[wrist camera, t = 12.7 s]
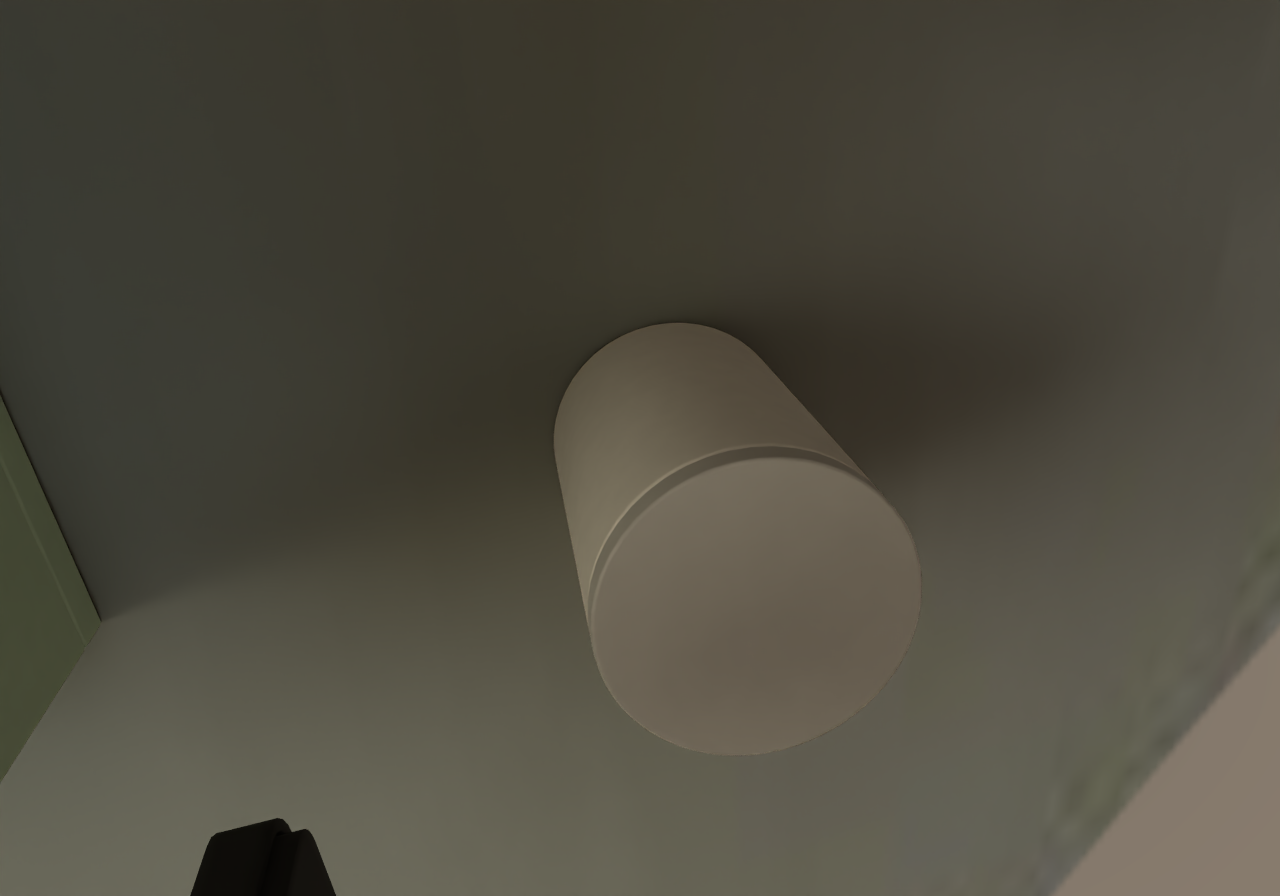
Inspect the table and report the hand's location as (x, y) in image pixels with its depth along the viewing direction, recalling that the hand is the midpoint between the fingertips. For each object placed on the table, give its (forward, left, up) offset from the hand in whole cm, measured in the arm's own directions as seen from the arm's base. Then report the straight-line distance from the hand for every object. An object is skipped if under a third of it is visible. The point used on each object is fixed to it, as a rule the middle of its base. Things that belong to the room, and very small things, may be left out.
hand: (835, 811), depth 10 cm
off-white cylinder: (0, 0, -9) cm, 9 cm away
